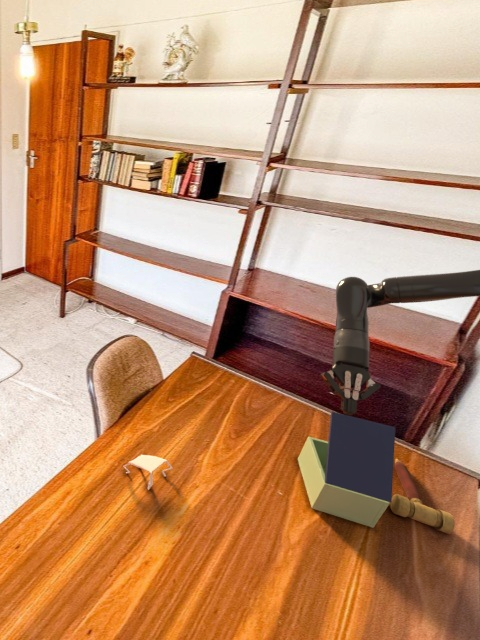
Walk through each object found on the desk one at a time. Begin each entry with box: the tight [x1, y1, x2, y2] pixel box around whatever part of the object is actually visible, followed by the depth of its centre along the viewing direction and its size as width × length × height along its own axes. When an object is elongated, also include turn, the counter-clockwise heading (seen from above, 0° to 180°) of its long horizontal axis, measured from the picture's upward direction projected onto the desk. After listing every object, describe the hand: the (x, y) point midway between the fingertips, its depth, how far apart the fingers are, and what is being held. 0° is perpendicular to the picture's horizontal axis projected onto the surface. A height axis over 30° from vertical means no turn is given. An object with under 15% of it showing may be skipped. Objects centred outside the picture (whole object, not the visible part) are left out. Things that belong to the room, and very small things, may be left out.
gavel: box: [390, 458, 456, 534], centre depth 101 cm, size 21×5×10 cm
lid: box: [325, 411, 396, 503], centre depth 93 cm, size 17×13×1 cm
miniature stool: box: [122, 454, 174, 491], centre depth 102 cm, size 12×8×5 cm
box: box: [297, 436, 391, 529], centre depth 99 cm, size 16×13×9 cm
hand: (348, 414), depth 101 cm, fingers closed
